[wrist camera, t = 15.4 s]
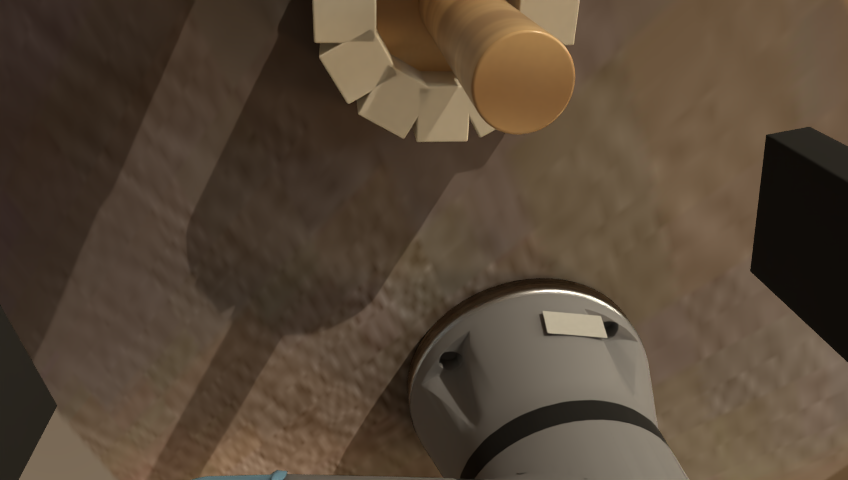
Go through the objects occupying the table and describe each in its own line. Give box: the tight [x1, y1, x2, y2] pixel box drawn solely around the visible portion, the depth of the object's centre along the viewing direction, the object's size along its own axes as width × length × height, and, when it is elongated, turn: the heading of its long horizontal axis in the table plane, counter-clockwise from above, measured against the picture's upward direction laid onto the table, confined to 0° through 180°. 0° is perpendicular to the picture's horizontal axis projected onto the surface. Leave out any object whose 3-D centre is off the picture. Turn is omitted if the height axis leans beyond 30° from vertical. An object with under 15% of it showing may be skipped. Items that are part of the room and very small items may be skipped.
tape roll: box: [312, 0, 580, 142], centre depth 29 cm, size 11×11×3 cm
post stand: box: [376, 0, 575, 134], centre depth 25 cm, size 9×9×14 cm
